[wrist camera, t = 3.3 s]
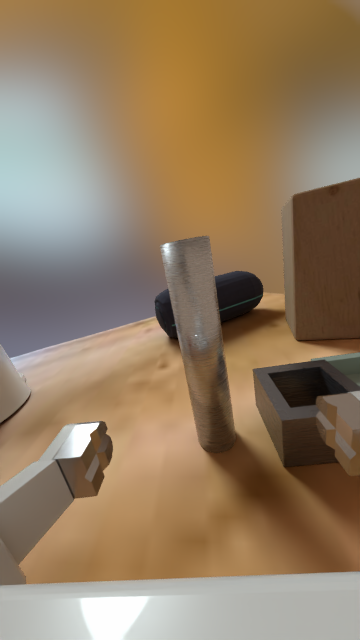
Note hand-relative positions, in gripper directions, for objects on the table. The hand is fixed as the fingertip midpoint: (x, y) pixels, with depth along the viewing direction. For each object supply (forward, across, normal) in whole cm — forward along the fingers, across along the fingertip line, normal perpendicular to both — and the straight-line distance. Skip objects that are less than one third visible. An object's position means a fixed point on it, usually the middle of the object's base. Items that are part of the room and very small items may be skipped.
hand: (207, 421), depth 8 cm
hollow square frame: (+8, -8, +9) cm, 14 cm away
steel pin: (+8, 0, +9) cm, 12 cm away
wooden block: (+27, -20, +9) cm, 35 cm away
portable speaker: (+38, -3, +9) cm, 39 cm away
